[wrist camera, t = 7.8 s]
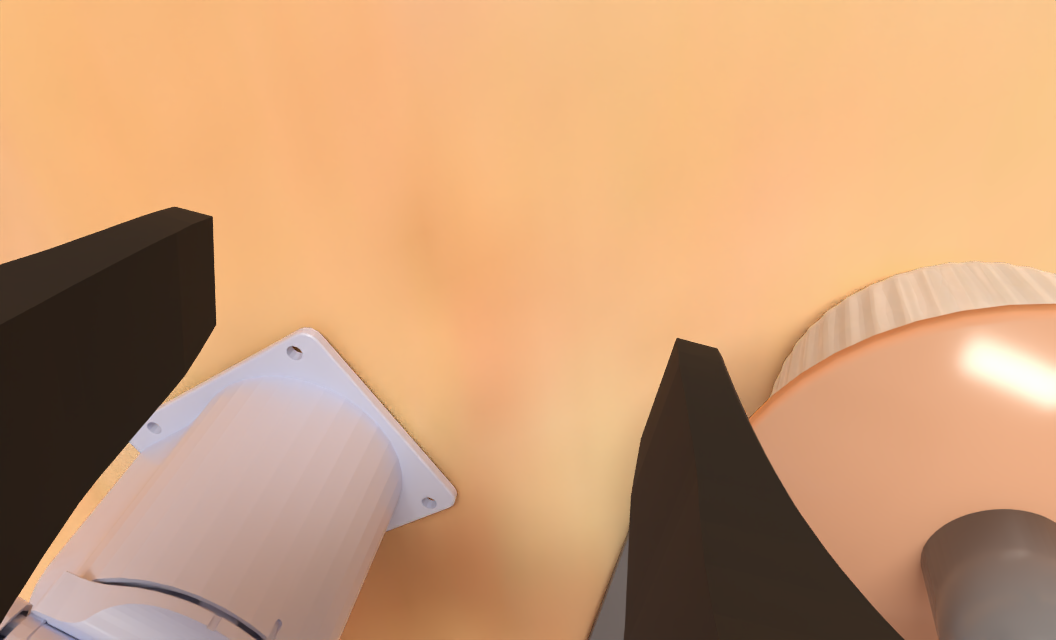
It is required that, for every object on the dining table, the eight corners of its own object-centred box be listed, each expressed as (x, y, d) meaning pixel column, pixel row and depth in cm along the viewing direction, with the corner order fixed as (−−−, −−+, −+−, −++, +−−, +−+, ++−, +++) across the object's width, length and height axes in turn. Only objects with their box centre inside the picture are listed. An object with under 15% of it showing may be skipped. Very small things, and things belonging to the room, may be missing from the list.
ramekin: (856, 156, 21) (892, 262, 17) (1284, 308, 21) (1427, 451, 17) (682, 465, 28) (675, 600, 23) (1012, 581, 28) (1065, 735, 23)
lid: (840, 745, 26) (861, 920, 22) (606, 440, 21) (580, 595, 17) (1391, 644, 20) (1548, 856, 16) (1243, 190, 15) (1419, 340, 11)
